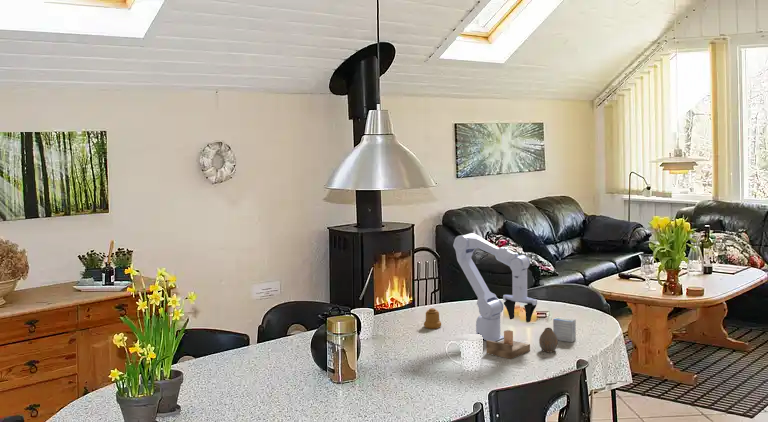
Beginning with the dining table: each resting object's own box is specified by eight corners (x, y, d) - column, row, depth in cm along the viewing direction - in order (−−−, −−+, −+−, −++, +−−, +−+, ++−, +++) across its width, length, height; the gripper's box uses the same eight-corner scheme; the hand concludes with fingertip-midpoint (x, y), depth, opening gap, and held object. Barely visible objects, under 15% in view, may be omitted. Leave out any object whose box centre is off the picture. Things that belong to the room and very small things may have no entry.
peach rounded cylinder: (502, 345, 298) (502, 331, 298) (507, 343, 301) (507, 329, 300) (509, 347, 296) (509, 333, 295) (514, 345, 298) (514, 331, 298)
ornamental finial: (426, 324, 341) (443, 325, 339) (421, 328, 334) (438, 330, 332) (426, 306, 340) (443, 307, 338) (421, 310, 333) (438, 311, 331)
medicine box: (576, 339, 312) (576, 318, 311) (572, 342, 308) (572, 321, 307) (556, 337, 316) (556, 316, 315) (553, 340, 313) (553, 319, 312)
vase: (557, 353, 295) (557, 331, 294) (539, 353, 296) (539, 330, 295) (557, 348, 302) (557, 326, 301) (539, 347, 303) (539, 325, 302)
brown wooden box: (486, 353, 298) (486, 340, 297) (505, 345, 307) (505, 333, 306) (510, 358, 290) (510, 345, 289) (530, 350, 300) (529, 337, 299)
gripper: (541, 287, 304) (541, 321, 306) (510, 282, 314) (510, 315, 316) (531, 290, 299) (531, 325, 301) (499, 285, 309) (500, 319, 310)
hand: (520, 320), depth 308 cm, fingers open, 7 cm apart
